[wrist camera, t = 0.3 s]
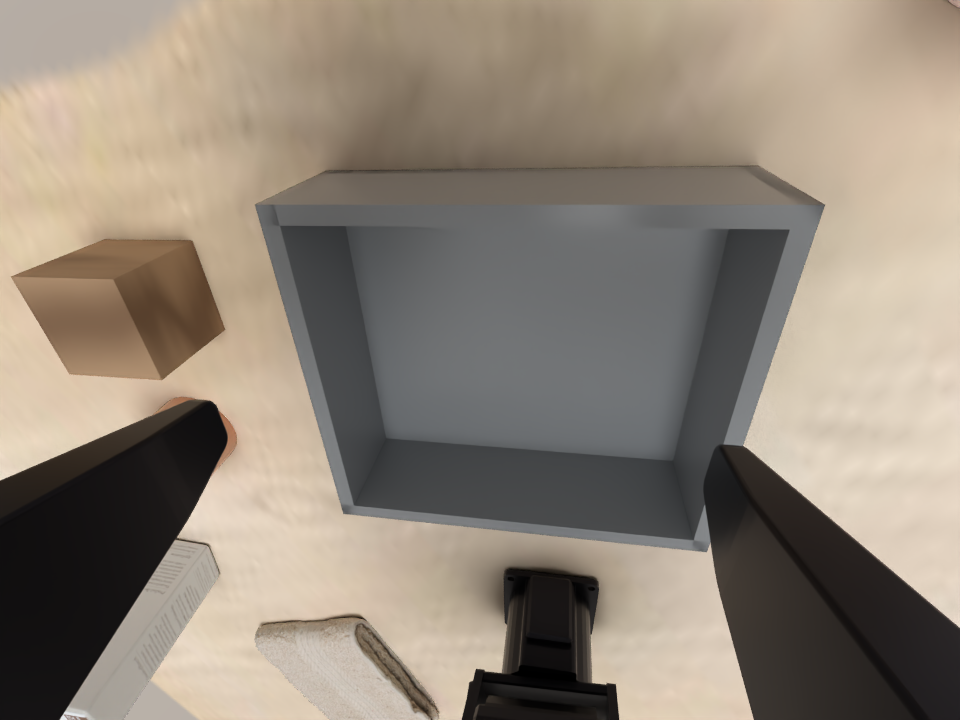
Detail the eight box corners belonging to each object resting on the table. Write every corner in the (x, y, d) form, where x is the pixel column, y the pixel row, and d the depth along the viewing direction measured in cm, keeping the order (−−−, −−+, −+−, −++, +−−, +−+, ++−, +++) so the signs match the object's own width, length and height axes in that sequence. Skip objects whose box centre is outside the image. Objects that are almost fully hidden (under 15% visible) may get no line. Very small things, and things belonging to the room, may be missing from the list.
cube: (226, 328, 26) (161, 380, 22) (146, 325, 27) (69, 374, 23) (193, 240, 24) (113, 279, 19) (106, 238, 24) (10, 276, 20)
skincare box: (158, 562, 41) (24, 727, 31) (140, 528, 39) (-12, 696, 29) (224, 574, 40) (110, 747, 30) (211, 541, 38) (81, 717, 28)
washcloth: (353, 709, 53) (342, 743, 50) (257, 616, 45) (238, 650, 42) (449, 708, 49) (442, 745, 46) (362, 606, 41) (348, 643, 38)
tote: (682, 463, 26) (706, 552, 22) (379, 439, 29) (343, 513, 24) (758, 166, 18) (824, 204, 13) (326, 170, 21) (254, 204, 16)
